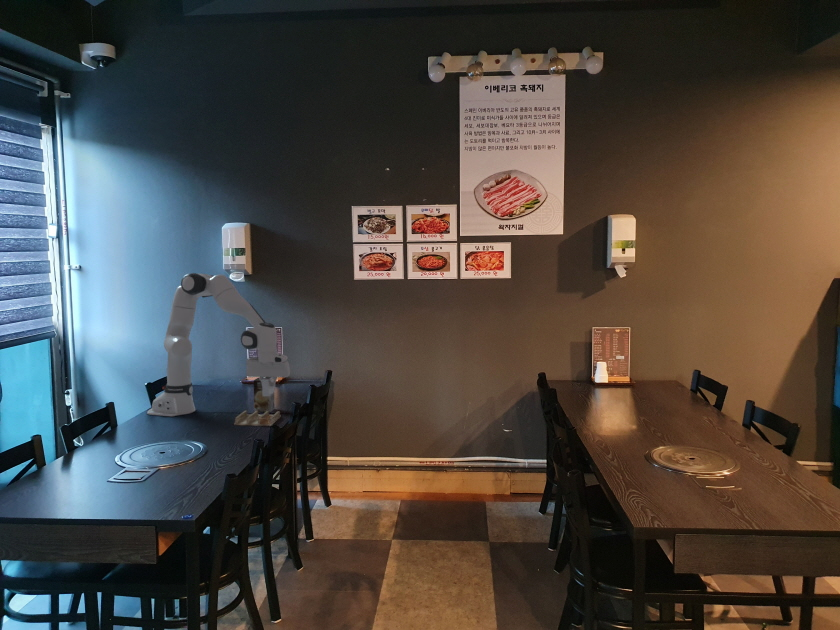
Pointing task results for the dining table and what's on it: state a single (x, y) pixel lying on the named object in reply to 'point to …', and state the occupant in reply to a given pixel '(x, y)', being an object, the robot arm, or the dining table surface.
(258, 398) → the coffee box
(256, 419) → the rack
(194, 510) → the dining table surface
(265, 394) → the panel
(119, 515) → the dining table surface
